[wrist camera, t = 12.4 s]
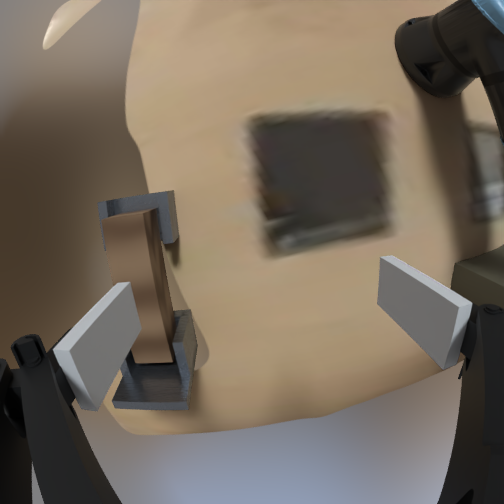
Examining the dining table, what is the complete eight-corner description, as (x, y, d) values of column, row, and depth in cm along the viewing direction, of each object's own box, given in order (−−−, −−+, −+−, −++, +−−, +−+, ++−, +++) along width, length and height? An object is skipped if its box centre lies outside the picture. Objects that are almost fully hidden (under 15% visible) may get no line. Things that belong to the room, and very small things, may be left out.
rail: (119, 213, 34) (101, 219, 28) (156, 208, 34) (142, 213, 28) (145, 339, 38) (135, 363, 32) (179, 338, 38) (172, 362, 33)
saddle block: (110, 200, 35) (97, 202, 31) (173, 190, 36) (167, 191, 31) (117, 243, 37) (104, 250, 32) (179, 235, 37) (173, 242, 33)
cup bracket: (131, 313, 39) (97, 367, 26) (190, 309, 40) (176, 367, 26) (141, 348, 41) (115, 408, 27) (197, 345, 41) (188, 409, 28)
